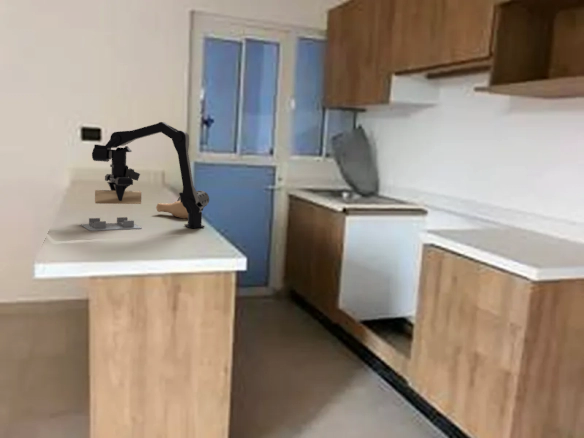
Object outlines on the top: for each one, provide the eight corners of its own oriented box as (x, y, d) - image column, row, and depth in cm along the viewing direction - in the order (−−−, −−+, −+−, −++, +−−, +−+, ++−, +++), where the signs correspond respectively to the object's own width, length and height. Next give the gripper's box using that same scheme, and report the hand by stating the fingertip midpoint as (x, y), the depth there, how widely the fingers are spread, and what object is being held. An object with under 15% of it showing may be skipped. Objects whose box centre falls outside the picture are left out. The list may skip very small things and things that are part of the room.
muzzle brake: (209, 210, 283) (210, 190, 281) (194, 217, 255) (195, 195, 253) (191, 209, 283) (192, 189, 282) (174, 216, 256) (175, 194, 254)
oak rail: (141, 203, 229) (141, 191, 228) (95, 203, 222) (95, 190, 221) (139, 202, 233) (139, 190, 233) (94, 202, 226) (95, 189, 225)
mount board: (141, 228, 217) (141, 221, 216) (89, 230, 205) (89, 223, 205) (131, 223, 227) (131, 216, 227) (81, 225, 216) (81, 217, 216)
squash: (192, 221, 243) (192, 201, 242) (151, 217, 248) (152, 197, 246) (202, 218, 253) (202, 199, 252) (162, 214, 258) (163, 195, 257)
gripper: (145, 164, 222) (144, 202, 224) (130, 161, 237) (130, 197, 240) (118, 164, 216) (117, 203, 218) (104, 160, 231) (104, 197, 233)
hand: (118, 200), depth 227 cm, fingers closed on oak rail, 5 cm apart
